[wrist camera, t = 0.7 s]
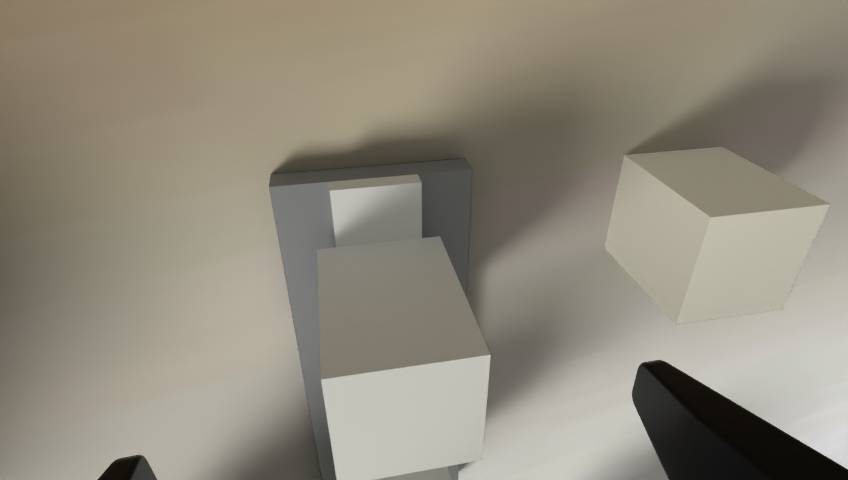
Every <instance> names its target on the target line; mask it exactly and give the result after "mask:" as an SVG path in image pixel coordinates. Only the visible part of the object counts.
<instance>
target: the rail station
mask: <svg viewBox="0 0 848 480" xmlns="http://www.w3.org/2000/svg"><path fill="white" fill-rule="evenodd" d="M471 188H472V168H471V167H470V165H469V164H468V162H467V161H466V159H465V158H463V159H450V160H438V161H426V162H414V163H402V164H390V165H378V166H365V167H353V168H341V169H329V170H317V171H305V172H292V173H280V174H271V177H270V183H269V190H270V195H271V201H272V206H273V212H274V217H275V223H276V229H277V234H278V240H279V245H280V251H281V256H282V262H283V267H284V273H285V278H286V284H287V289H288V295H289V300H290V306H291V311H292V317H293V322H294V328H295V333H296V339H297V344H298V350H299V355H300V361H301V366H302V372H303V377H304V383H305V389H306V394H307V400H308V405H309V411H310V416H311V422H312V427H313V433H314V438H315V444H316V449H317V455H318V460H319V466H320V471H321V477H322V480H458V470H459V464H463V463H469V462H474V461H480V460H482V454H483V442H484V430H485V418H486V406H487V394H488V382H489V370H490V358H491V354H490V352H489V349H488V347H487V345H486V342H485V340H484V338H483V335H482V333H481V331H480V328H479V326H478V324H477V321H476V319H475V317H474V314H473V312H472V310H471V307H470V305H469V303H468V300H467V298H466V296H467V275H468V253H469V231H470V210H471Z"/></svg>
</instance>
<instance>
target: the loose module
mask: <svg viewBox="0 0 848 480" xmlns="http://www.w3.org/2000/svg"><path fill="white" fill-rule="evenodd" d="M829 207H830V204H829V203H827V202H825V201H824V200H822V199H820V198H818V197H816V196H814V195H812V194H810V193H808V192H807V191H805V190H803V189H801V188H799V187H797V186H795V185H793V184H791V183H790V182H788V181H786V180H784V179H782V178H780V177H778V176H776V175H775V174H773V173H771V172H769V171H767V170H765V169H763V168H761V167H759V166H758V165H756V164H754V163H752V162H750V161H748V160H746V159H744V158H742V157H741V156H739V155H737V154H735V153H733V152H731V151H729V150H727V149H725V148H724V147H712V148H700V149H689V150H677V151H666V152H654V153H642V154H631V155H624V158H623V163H622V167H621V172H620V177H619V182H618V186H617V191H616V196H615V201H614V206H613V210H612V215H611V220H610V225H609V229H608V234H607V239H606V244H605V249H606V250H607V251H608V252H609V253H610V254H611V256H612V257H613V258H614V259H615V260H616V261H617V262H618V263H619V264H620V265H621V266H622V267H623V269H624V270H625V271H626V272H627V273H628V274H629V275H630V276H631V277H632V278H633V279H634V280H635V281H636V283H637V284H638V285H639V286H640V287H641V288H642V289H643V290H644V291H645V292H646V293H647V294H648V295H649V297H650V298H651V299H652V300H653V301H654V302H655V303H656V304H657V305H658V306H659V307H660V308H661V310H662V311H663V312H664V313H665V314H666V315H667V316H668V317H669V318H670V319H671V320H672V321H673V322H674V324H675V325H678V324H685V323H692V322H699V321H706V320H712V319H719V318H726V317H733V316H740V315H746V314H753V313H760V312H767V311H774V310H780V309H783V307H784V305H785V302H786V300H787V298H788V296H789V294H790V292H791V289H792V287H793V285H794V283H795V281H796V278H797V276H798V274H799V272H800V270H801V268H802V265H803V263H804V261H805V259H806V257H807V255H808V252H809V250H810V248H811V246H812V244H813V241H814V239H815V237H816V235H817V233H818V231H819V228H820V226H821V224H822V222H823V220H824V218H825V215H826V213H827V211H828V209H829Z"/></svg>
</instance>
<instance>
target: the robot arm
mask: <svg viewBox="0 0 848 480" xmlns="http://www.w3.org/2000/svg"><path fill="white" fill-rule="evenodd" d="M632 398H633V402H634V405H635V407H636V409H637V412H638V414H639V416H640V418H641V420H642V423H643V425H644V427H645V429H646V431H647V434H648V436H649V438H650V440H651V442H652V444H653V447H654V449H655V451H656V453H657V455H658V458H659V460H660V462H661V464H662V466H663V468H664V470H665V472H666V475H667V477H668V479H669V480H848V469H846V468H844V467H843V466H841V465H839V464H838V463H836V462H834V461H833V460H831V459H829V458H828V457H826V456H824V455H822V454H821V453H819V452H817V451H816V450H814V449H812V448H811V447H809V446H807V445H806V444H804V443H802V442H800V441H799V440H797V439H795V438H794V437H792V436H790V435H789V434H787V433H785V432H784V431H782V430H780V429H778V428H777V427H775V426H773V425H772V424H770V423H768V422H767V421H765V420H763V419H762V418H760V417H758V416H756V415H755V414H753V413H751V412H750V411H748V410H746V409H745V408H743V407H741V406H740V405H738V404H736V403H734V402H733V401H731V400H729V399H728V398H726V397H724V396H723V395H721V394H719V393H718V392H716V391H714V390H712V389H711V388H709V387H707V386H706V385H704V384H702V383H701V382H699V381H697V380H696V379H694V378H692V377H690V376H689V375H687V374H685V373H684V372H682V371H680V370H679V369H677V368H675V367H674V366H672V365H670V364H668V363H667V362H665V361H662V360H655V361H649V362H644V363H641V365H640V366H639V367H638V371H637V375H636V379H635V383H634V387H633V391H632ZM98 480H157V479H156V477H155V475H154V473H153V471H152V469H151V467H150V465H149V463H148V462H147V460H146V458H145V457H144V456H142V455H135V456H130V457H124V458H120V459H117V460H115V461H114V462H113V463H112V464H111V465H110V466H109V467H108V468H107V469H106V471H105V472H104V473H103V474H102V475H101V476H100V478H99V479H98Z"/></svg>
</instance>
